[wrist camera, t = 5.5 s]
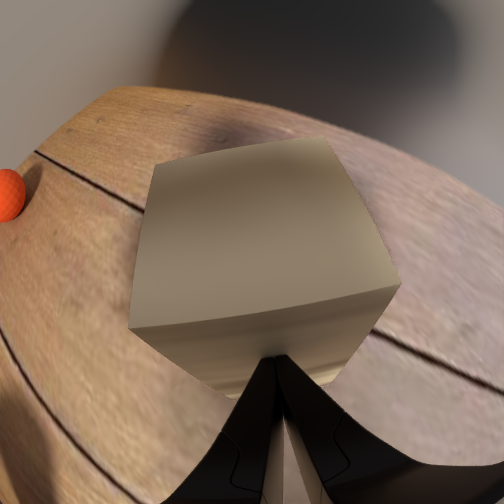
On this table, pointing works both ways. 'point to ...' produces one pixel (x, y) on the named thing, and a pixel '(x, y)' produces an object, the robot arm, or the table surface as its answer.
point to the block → (258, 263)
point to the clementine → (11, 194)
